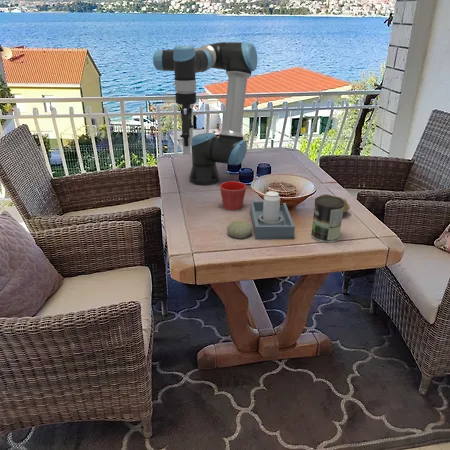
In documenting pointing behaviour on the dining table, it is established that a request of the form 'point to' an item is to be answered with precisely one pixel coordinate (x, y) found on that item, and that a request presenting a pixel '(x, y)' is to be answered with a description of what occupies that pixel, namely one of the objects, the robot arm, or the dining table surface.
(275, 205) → the beverage can
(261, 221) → the inlet ring
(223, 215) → the dining table surface
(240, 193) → the flower pot
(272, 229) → the walled box
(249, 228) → the sea urchin shell
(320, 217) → the coffee can
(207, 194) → the dining table surface
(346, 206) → the oil lamp
